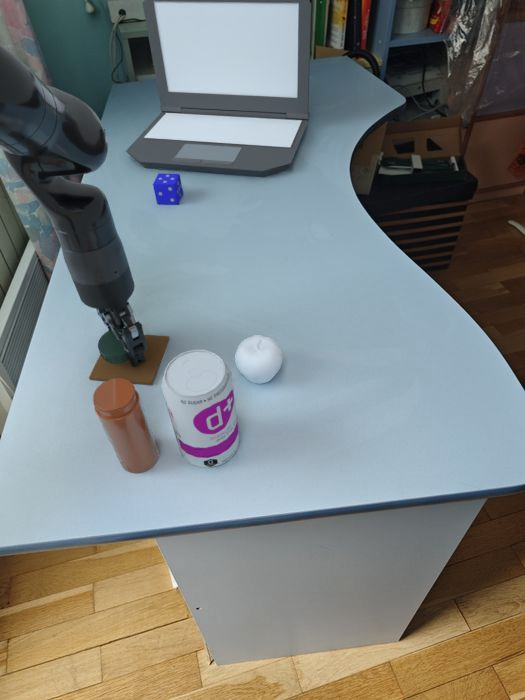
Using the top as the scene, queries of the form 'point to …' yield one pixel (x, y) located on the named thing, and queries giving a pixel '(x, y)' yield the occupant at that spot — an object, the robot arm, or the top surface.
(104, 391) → the jar
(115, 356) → the lid
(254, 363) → the plain white apple
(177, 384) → the supplement can
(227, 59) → the laptop
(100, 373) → the coaster
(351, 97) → the top surface
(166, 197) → the die
